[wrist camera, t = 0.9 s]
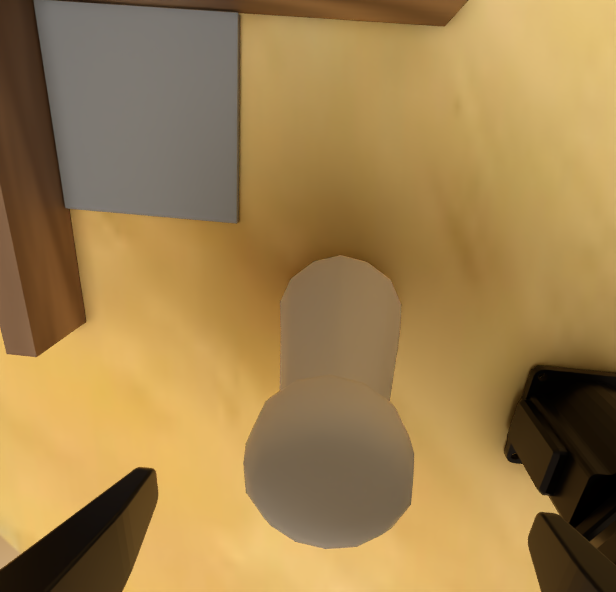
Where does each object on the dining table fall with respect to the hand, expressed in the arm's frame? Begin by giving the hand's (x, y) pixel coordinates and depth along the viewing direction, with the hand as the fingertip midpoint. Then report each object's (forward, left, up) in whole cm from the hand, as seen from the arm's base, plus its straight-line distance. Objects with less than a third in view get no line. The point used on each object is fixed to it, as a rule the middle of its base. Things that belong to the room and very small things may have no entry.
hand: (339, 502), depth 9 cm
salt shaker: (0, 0, -13) cm, 13 cm away
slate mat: (+10, -8, -13) cm, 18 cm away
